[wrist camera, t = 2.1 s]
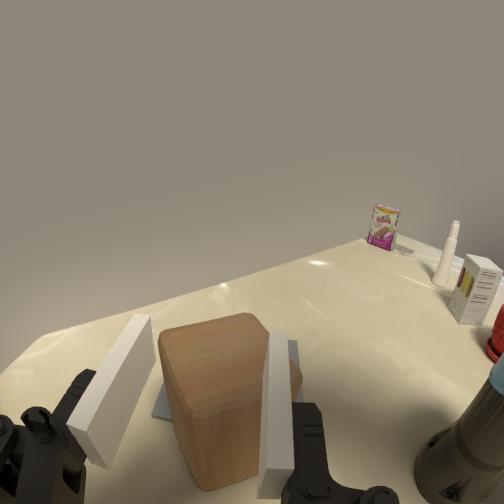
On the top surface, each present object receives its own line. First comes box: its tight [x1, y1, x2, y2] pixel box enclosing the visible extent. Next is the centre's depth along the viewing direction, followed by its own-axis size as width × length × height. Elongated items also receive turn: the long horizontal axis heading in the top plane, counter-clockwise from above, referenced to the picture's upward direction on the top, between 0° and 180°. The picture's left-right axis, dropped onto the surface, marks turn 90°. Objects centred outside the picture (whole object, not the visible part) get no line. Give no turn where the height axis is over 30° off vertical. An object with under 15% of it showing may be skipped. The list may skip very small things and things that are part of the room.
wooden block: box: [158, 313, 303, 491], centre depth 28 cm, size 10×10×20 cm
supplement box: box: [448, 254, 503, 325], centre depth 64 cm, size 10×9×17 cm
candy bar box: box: [367, 204, 402, 251], centre depth 114 cm, size 11×5×16 cm, turn 44°
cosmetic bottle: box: [432, 220, 459, 287], centre depth 83 cm, size 6×6×22 cm
